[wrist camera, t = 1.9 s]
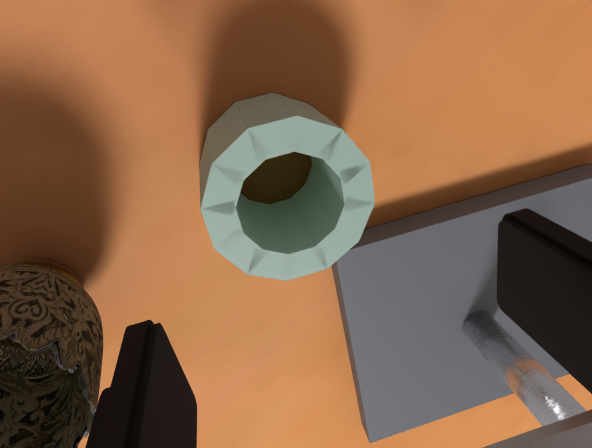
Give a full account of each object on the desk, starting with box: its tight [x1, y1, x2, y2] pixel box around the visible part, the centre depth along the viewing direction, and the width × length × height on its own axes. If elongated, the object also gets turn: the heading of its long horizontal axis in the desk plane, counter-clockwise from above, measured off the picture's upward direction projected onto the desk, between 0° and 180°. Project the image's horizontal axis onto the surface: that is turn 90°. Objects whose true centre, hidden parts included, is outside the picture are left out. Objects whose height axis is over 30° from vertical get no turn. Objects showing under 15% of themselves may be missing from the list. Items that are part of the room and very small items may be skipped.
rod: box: [462, 311, 586, 426], centre depth 22 cm, size 2×2×8 cm
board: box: [332, 164, 592, 443], centre depth 26 cm, size 16×16×2 cm
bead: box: [199, 93, 375, 281], centre depth 17 cm, size 6×6×5 cm
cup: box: [0, 260, 103, 448], centre depth 16 cm, size 8×7×8 cm
